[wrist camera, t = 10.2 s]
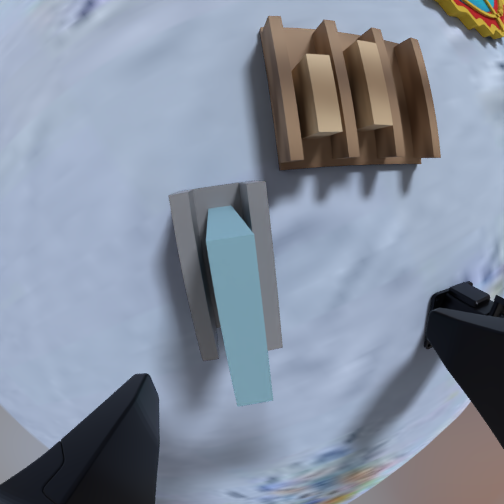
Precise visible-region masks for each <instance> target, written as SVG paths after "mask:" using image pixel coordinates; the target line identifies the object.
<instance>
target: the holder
mask: <svg viewBox="0 0 504 504" xmlns="http://www.w3.org/2000/svg"><path fill="white" fill-rule="evenodd" d="M169 201H170V207H171V213H172V220H173V225H174V231H175V237H176V243H177V248H178V253H179V259H180V264H181V269H182V274H183V279H184V283H185V288H186V293H187V297H188V302H189V306H190V311H191V315H192V319H193V324H194V328H195V332H196V336H197V340H198V344H199V348H200V352H201V356H202V359H203V361H208V360H215V359H219V354H218V340H217V328H219V327H221V325H220V320H219V315H218V309H217V304H216V298H215V293H214V287H213V281H212V275H211V269H210V263H209V257H208V251H207V245H206V234H207V220H208V209H210V208H217V207H224V206H232V207H233V208H234V210H235V211H236V212H237V213H238V215H239V216H240V217H241V218H242V220H243V221H244V222H245V223H246V225H247V226H248V227H249V228H250V230H251V231H252V232H253V233H254V237H255V245H256V254H257V263H258V271H259V280H260V288H261V297H262V306H263V314H264V323H265V332H266V341H267V350H268V351H269V350H274V349H279V348H283V347H282V335H281V324H280V313H279V302H278V292H277V282H276V271H275V262H274V252H273V243H272V233H271V224H270V215H269V206H268V197H267V189H266V181H247V182H240V183H232V184H225V185H218V186H211V187H204V188H198V189H192V190H186V191H180V192H176V193H174V194H171V195H169Z"/></svg>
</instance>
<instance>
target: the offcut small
mask: <svg viewBox="0 0 504 504" xmlns="http://www.w3.org/2000/svg"><path fill="white" fill-rule="evenodd" d="M291 73H292V78H293V85H294V91H295V97H296V104H297V110H298V117H299V125H300V132H301V139H321V138H324V137H327V136H330V135H333V134H336V133H340V132H343V131H342V124H341V117H340V110H339V104H338V98H337V92H336V87H335V81H334V76H333V71H332V66H331V61H330V56H329V55H319V54H305V55H304V57H303V58H302V59H301V60H300V61H299V63H298V64H297V65H296V66H295V67H294V69H293V70H292V71H291Z"/></svg>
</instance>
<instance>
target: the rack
mask: <svg viewBox="0 0 504 504" xmlns="http://www.w3.org/2000/svg"><path fill="white" fill-rule="evenodd" d="M260 36H261V42H262V48H263V54H264V60H265V66H266V73H267V79H268V86H269V93H270V100H271V107H272V114H273V121H274V129H275V137H276V144H277V152H278V161H279V169H280V170H290V169H302V168H314V167H329V166H347V165H371V164H421V158H441V155H440V145H439V137H438V129H437V122H436V116H435V110H434V104H433V99H432V94H431V89H430V84H429V80H428V76H427V71H426V67H425V64H424V60H423V56H422V53H421V49H420V46H419V43H418V40H417V39H413V38H409V39H407V40H405V41H403V42H402V43H400V44H398V43H394V42H389V41H385V40H383V37H382V33H381V30H380V29H376V28H370V29H369V30H368V31H366V32H365V33H364V34H363V35H361V36H360V35H354V34H348V33H341V32H337V28H336V24H335V21H331V20H323V21H322V23H321V24H320V25H319V26H318V27H317V29H316V30H315V29H302V28H283V25H282V20H281V16H268V18H267V21H266V23H265V26H264V27H261V28H260ZM356 40H361V41H367V42H372V43H376V45H377V49H378V52H379V56H380V60H381V64H382V69H383V73H384V78H385V82H386V87H387V92H388V98H389V103H390V109H391V115H392V122H393V126H388V127H384V128H379V129H375V130H371V131H367V132H361V131H357V128H356V121H355V114H354V108H353V102H352V96H351V91H350V85H349V80H348V75H347V70H346V65H345V61H344V56H343V51H344V50H345V49H346V48H348V47H349V46H350V45H351V44H353V43H354V42H355V41H356ZM305 54H319V55H329V56H330V61H331V66H332V71H333V76H334V81H335V87H336V92H337V98H338V104H339V110H340V117H341V124H342V131H343V132H340V133H336V134H333V135H330V136H327V137H324V138H321V139H301V132H300V125H299V117H298V110H297V104H296V97H295V91H294V85H293V78H292V73H291V71H292V70H293V69H294V67H295V66H296V65H297V64H298V63H299V61H300V60H301V59H302V58H303V57H304V55H305Z"/></svg>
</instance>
